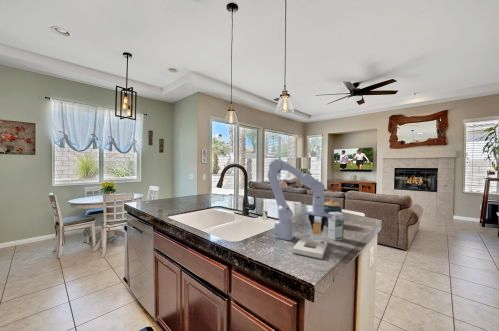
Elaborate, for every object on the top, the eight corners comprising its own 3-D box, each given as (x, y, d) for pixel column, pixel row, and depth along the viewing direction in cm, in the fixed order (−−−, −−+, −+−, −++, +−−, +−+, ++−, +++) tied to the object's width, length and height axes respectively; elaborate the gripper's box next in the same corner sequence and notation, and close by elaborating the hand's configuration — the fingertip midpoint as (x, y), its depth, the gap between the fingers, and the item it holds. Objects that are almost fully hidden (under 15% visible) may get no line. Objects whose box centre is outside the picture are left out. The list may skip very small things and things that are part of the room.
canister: (328, 221, 155) (328, 196, 155) (345, 225, 145) (346, 199, 145) (318, 224, 146) (318, 198, 146) (336, 228, 136) (336, 201, 136)
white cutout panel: (292, 253, 98) (292, 247, 98) (301, 242, 112) (301, 236, 112) (322, 259, 92) (322, 252, 92) (327, 247, 106) (327, 241, 106)
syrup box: (334, 241, 115) (335, 214, 115) (327, 237, 120) (328, 211, 120) (343, 240, 116) (344, 213, 116) (336, 236, 122) (336, 211, 122)
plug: (312, 234, 112) (312, 223, 112) (314, 231, 117) (314, 221, 117) (320, 236, 110) (320, 224, 110) (322, 233, 115) (322, 222, 115)
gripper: (333, 204, 113) (333, 230, 113) (306, 202, 120) (305, 226, 120) (332, 207, 107) (331, 234, 107) (303, 204, 114) (302, 229, 114)
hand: (317, 230), depth 113 cm, fingers closed on plug, 4 cm apart
